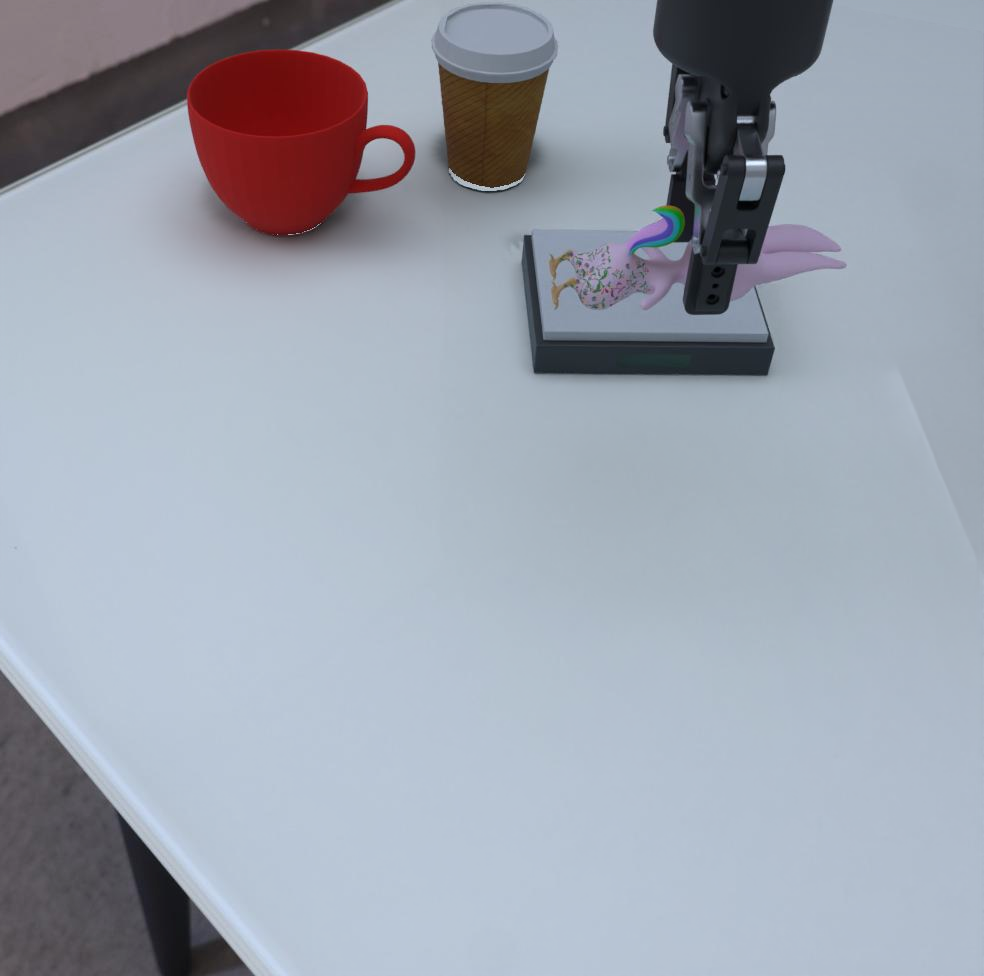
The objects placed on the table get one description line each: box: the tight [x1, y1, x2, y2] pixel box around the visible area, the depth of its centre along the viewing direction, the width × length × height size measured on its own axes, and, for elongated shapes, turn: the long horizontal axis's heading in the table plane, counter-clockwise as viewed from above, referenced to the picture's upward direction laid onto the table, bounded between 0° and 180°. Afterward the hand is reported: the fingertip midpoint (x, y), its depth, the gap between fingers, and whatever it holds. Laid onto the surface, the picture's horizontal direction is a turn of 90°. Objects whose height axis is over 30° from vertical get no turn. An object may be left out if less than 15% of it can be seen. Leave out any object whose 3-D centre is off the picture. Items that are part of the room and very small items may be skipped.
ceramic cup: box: [186, 48, 416, 236], centre depth 97 cm, size 13×17×10 cm
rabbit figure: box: [548, 205, 848, 311], centre depth 67 cm, size 6×6×15 cm
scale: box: [521, 228, 776, 376], centre depth 92 cm, size 16×13×3 cm
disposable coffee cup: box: [431, 1, 559, 188], centre depth 102 cm, size 10×10×12 cm
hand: (693, 272), depth 68 cm, fingers closed on rabbit figure, 5 cm apart
